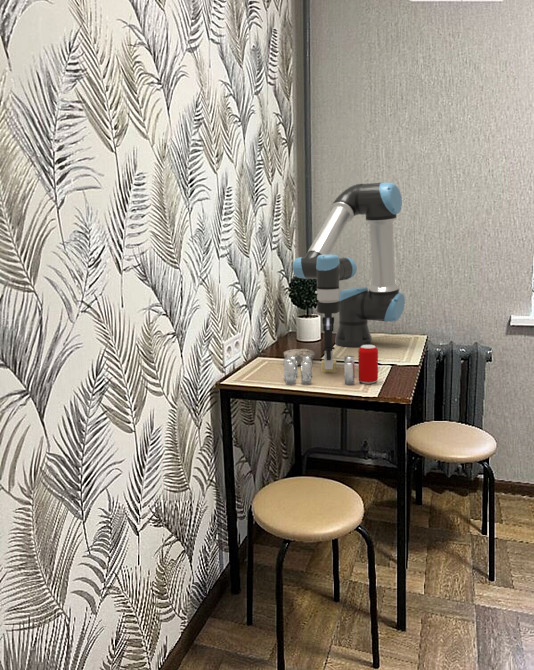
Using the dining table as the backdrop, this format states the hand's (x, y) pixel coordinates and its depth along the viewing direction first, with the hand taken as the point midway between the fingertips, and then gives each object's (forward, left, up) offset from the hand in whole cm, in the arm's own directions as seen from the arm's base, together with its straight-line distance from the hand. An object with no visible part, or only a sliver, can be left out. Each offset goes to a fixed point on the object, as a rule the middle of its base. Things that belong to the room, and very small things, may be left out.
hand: (328, 368), depth 213 cm
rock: (-13, -12, -2) cm, 18 cm away
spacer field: (+9, 0, -2) cm, 9 cm away
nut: (-3, 0, -2) cm, 4 cm away
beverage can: (+11, +13, -2) cm, 17 cm away
